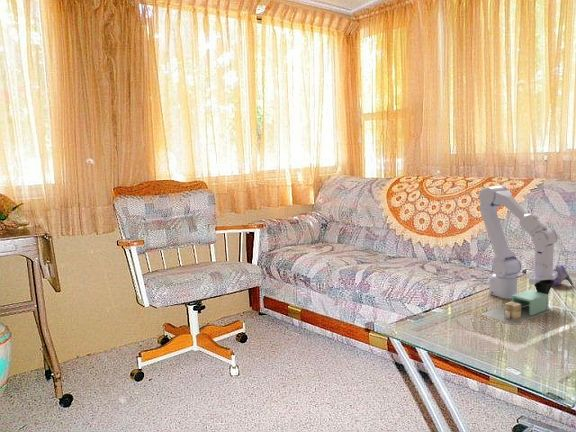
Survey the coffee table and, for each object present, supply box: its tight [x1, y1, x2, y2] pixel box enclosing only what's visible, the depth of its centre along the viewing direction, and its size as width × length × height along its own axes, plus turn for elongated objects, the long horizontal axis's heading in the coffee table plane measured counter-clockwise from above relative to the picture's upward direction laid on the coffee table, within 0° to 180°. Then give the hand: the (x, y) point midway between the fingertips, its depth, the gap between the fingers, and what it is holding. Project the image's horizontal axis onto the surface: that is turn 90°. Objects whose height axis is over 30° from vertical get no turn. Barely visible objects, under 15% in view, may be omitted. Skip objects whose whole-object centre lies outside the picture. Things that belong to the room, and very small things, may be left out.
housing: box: [511, 289, 549, 316], centre depth 164 cm, size 7×10×5 cm
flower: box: [550, 264, 574, 287], centre depth 195 cm, size 9×9×10 cm
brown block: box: [504, 300, 521, 319], centre depth 160 cm, size 4×4×5 cm
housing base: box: [480, 305, 552, 326], centre depth 163 cm, size 13×22×4 cm, turn 121°
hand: (542, 299), depth 169 cm, fingers closed
